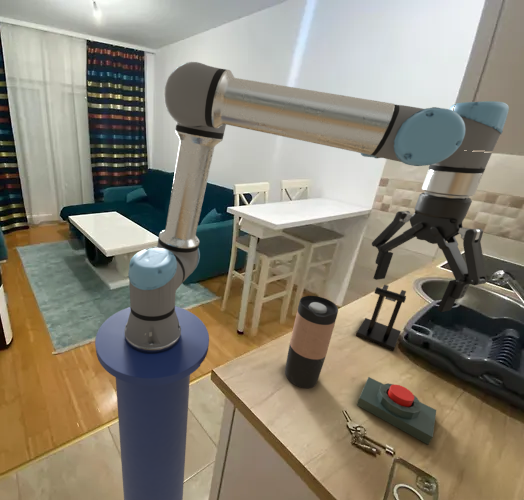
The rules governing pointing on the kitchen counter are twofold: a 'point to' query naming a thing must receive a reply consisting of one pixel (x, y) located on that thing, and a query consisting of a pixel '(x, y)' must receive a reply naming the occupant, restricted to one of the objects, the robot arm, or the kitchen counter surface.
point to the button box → (398, 411)
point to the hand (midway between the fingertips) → (408, 293)
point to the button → (401, 395)
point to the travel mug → (310, 340)
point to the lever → (390, 295)
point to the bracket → (381, 326)
